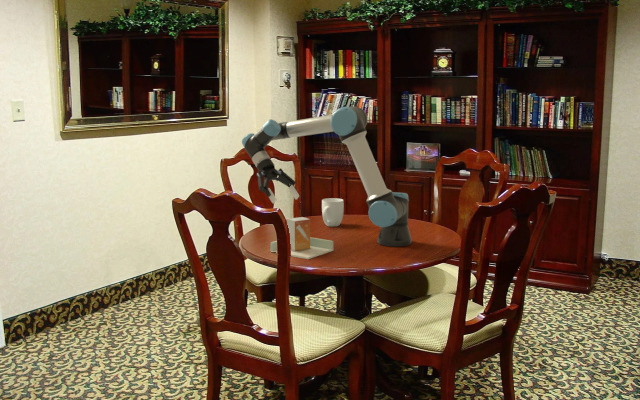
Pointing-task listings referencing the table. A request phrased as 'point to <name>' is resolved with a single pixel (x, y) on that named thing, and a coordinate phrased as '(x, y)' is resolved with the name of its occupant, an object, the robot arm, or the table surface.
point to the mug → (332, 211)
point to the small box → (299, 233)
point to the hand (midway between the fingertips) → (286, 199)
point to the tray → (315, 249)
